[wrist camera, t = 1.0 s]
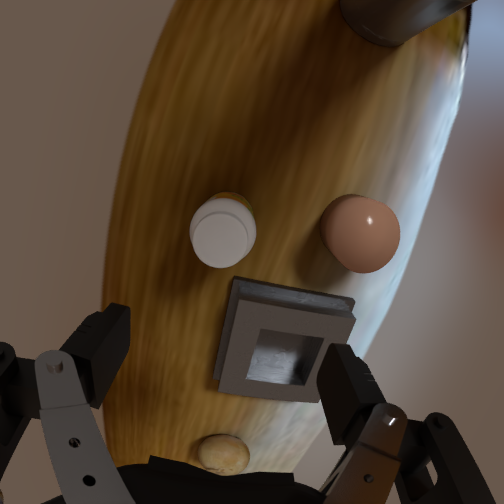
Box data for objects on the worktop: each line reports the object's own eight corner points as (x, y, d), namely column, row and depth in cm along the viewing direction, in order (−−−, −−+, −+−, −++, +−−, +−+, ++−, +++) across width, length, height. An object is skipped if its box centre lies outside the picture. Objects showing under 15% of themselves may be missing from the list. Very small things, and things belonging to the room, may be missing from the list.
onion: (234, 422, 39) (233, 459, 32) (257, 447, 41) (259, 481, 34) (190, 434, 40) (184, 468, 33) (215, 458, 42) (213, 490, 35)
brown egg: (329, 186, 30) (345, 191, 25) (386, 203, 30) (408, 211, 26) (312, 250, 32) (324, 265, 27) (368, 262, 32) (387, 279, 27)
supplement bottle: (264, 220, 30) (274, 245, 21) (224, 253, 31) (217, 291, 22) (229, 180, 29) (223, 187, 20) (190, 214, 30) (167, 238, 21)
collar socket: (234, 275, 32) (233, 290, 28) (352, 298, 33) (364, 314, 29) (213, 374, 36) (210, 394, 32) (315, 387, 37) (321, 407, 33)
